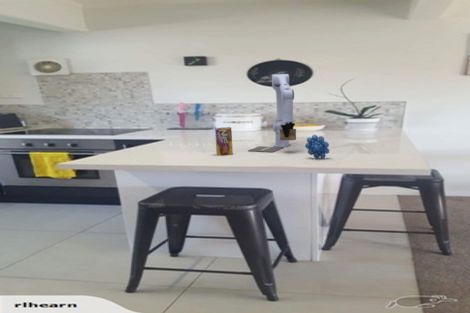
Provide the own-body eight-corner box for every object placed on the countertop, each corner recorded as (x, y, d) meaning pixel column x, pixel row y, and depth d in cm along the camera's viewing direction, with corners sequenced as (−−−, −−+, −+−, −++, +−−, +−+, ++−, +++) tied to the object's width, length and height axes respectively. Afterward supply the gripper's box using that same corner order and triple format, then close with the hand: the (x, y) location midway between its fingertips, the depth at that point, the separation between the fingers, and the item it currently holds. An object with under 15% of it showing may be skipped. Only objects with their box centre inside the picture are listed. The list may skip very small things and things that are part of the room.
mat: (259, 147, 209) (259, 146, 209) (283, 148, 201) (283, 147, 201) (247, 151, 195) (247, 150, 195) (272, 152, 187) (272, 151, 187)
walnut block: (282, 139, 188) (282, 128, 187) (296, 139, 184) (295, 128, 183) (280, 140, 185) (279, 129, 184) (293, 140, 181) (293, 129, 180)
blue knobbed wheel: (304, 160, 163) (304, 135, 161) (305, 157, 170) (305, 134, 168) (328, 160, 160) (329, 135, 158) (329, 157, 166) (329, 134, 164)
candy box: (231, 153, 191) (230, 126, 188) (233, 154, 187) (231, 127, 184) (216, 154, 189) (214, 127, 186) (217, 155, 185) (215, 128, 182)
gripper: (289, 112, 173) (290, 138, 176) (299, 111, 186) (299, 135, 188) (277, 113, 177) (277, 138, 179) (287, 111, 189) (287, 134, 192)
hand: (288, 136), depth 184 cm, fingers closed on walnut block, 4 cm apart
